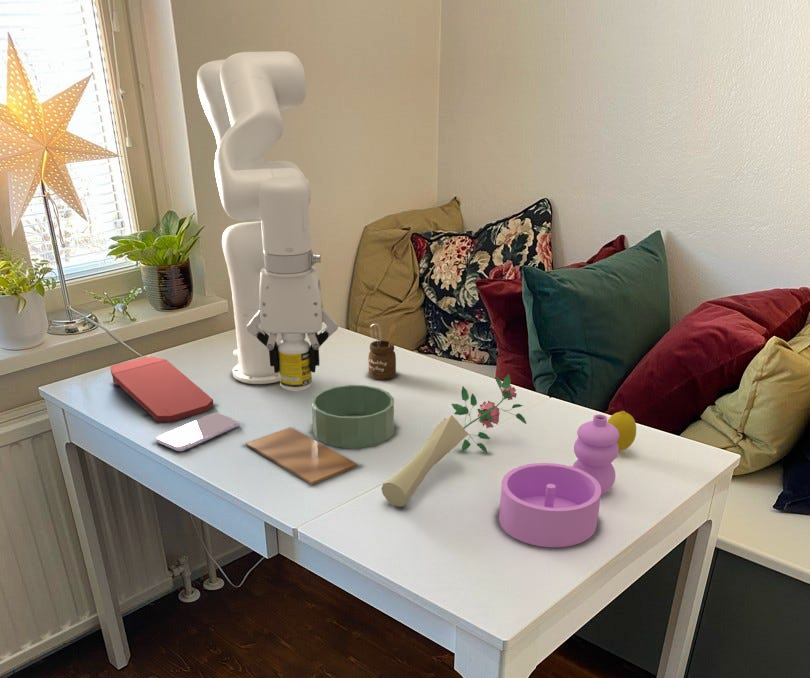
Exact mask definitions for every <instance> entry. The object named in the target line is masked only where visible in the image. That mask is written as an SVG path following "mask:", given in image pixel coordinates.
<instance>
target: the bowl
mask: <svg viewBox="0 0 810 678" xmlns="http://www.w3.org/2000/svg"><path fill="white" fill-rule="evenodd" d="M348 415H355V416H348ZM357 415H360V416H357ZM311 418H312V433H313V434H314V436H315V438H316V439H317V440H318V441H320V442H322V443H324V444H326V445H328V446H333V447H336V448H337V447H338V448H341V449H343V448H344V449H346V448H347V449H360V448H368V447H372V446H376V445H379V444H382V443H384V442H386V441H387V440H389V439H390V438H391V437H392V436H393V435H394V433H395V432H394V431H395V398H394V397H393V396H392V394H391V393H390V392H389V391H386V390H384V389H382V388H380V387H376V386H372V385H365V384H347V385H345V384H344V385H339V386H338V385H337V386H332V387H329V388H327V389H324V390H321V391H320V392H318V393H317V394H315V395H314V396H313V398H312V400H311Z"/></svg>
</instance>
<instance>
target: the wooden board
mask: <svg viewBox="0 0 810 678" xmlns="http://www.w3.org/2000/svg"><path fill="white" fill-rule="evenodd" d="M245 445H246V447H248V448H250V449H251V450H253V451H254V452H256V453H258V454H259V455H261V456H263V457H265V458H266V459H268V460H270V462H273V463H274V464H276V465H278V466H279V467H281V468H283V469H285V470H286V471H288V472H289V473H291V474H293V475H295V476H297V477H298V478H299V479H301V480H302V481H304V482H306V483H308V484H310V485H311V486H313V485H315V484H317V483H321V482H323V481H325V480H328V479H330V478H333V477H335V476H338V475H340V474H343V473H345V472H348V471H350V470H352V469H355V468H358V463H356V462H355V461H353V460H351V459H349V458H348V457H346V456H345V455H342V454H340V453H338V452H337V451H335V450H333V449H331V448H329V447H327V446H326V445H323V443H320V442H318V441H316V440H314V439H312V438H311V437H309V436H308V435H305V434H304V433H302V432H300V431H298V430H296V429H294V428H292V427H287V428H284V429H281V430H278V431H276V432H273V433H270V434H267V435H265V436H264V435H263V436H262V437H259V438H256V439H253V440H249V441H248V442H245Z"/></svg>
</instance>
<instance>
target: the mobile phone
mask: <svg viewBox="0 0 810 678" xmlns="http://www.w3.org/2000/svg"><path fill="white" fill-rule="evenodd" d="M239 426H240V422H239V420H237V419H234V418H231V417H229V416H226V415H224V414H221V413H219V412H212V413H210V414H207V415H205V416H203V417H200V418H198V419H195V420H193V421H191V422H189V423H186V424H184V425H182V426H179V427H176V428H174V429H173V430H170V431H167V432H165V433H163V434H160V435H158V436H157V437H156V438H155V441H156V442H157V443H158V444H160V445H162V446H165V447H167V448H169V449H172V450H174V451H177V452H185V451H186V450H189V449H191V448H194V447H196V446H198V445H200V444H203V443H204V442H206V441H209V440H211V439H213V438H215V437H217V436H220V435H223V434H224V433H227V432H229V431H231V430H234V429H235V428H238V427H239Z"/></svg>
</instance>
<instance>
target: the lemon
mask: <svg viewBox="0 0 810 678" xmlns="http://www.w3.org/2000/svg"><path fill="white" fill-rule="evenodd" d="M607 422H608V423H610V424H612V425H613V426H614V427H616V428H617V429H618V432H619V439H618V440H617V444H618V447H619V452H621V451H624V450H627V449H628V448H630V447H631V446H632V445H633V443H634V442H635V440H636V436H637V424H636V420H635V418H634V417H633V416H632V415H631V414H630V413H628V412H626V411H625V410H621V411H618V412H615V413H613V414H612V415H611V416H610V417H609V418H607Z"/></svg>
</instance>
